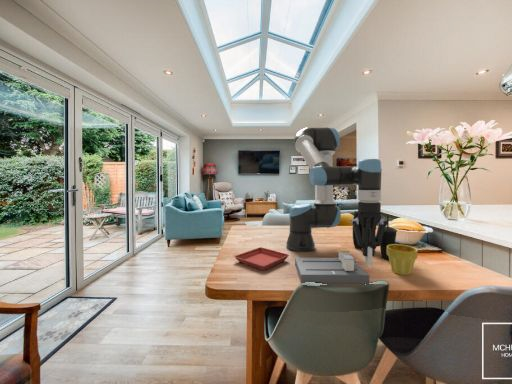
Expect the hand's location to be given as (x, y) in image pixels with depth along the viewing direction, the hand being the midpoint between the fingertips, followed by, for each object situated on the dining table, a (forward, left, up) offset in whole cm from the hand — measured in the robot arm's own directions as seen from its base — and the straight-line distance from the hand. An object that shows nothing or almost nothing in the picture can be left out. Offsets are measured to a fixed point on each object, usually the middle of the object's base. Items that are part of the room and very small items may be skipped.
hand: (368, 264), depth 87 cm
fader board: (-13, -6, -5) cm, 15 cm away
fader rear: (-11, +2, -2) cm, 11 cm away
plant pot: (+7, +15, -5) cm, 17 cm away
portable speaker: (-17, +37, -5) cm, 41 cm away
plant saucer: (-41, -15, -6) cm, 44 cm away
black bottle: (-2, +28, -5) cm, 29 cm away
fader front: (-5, -5, -2) cm, 8 cm away
